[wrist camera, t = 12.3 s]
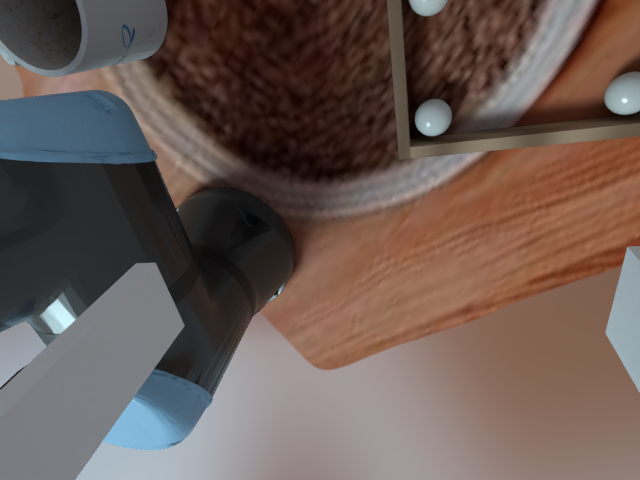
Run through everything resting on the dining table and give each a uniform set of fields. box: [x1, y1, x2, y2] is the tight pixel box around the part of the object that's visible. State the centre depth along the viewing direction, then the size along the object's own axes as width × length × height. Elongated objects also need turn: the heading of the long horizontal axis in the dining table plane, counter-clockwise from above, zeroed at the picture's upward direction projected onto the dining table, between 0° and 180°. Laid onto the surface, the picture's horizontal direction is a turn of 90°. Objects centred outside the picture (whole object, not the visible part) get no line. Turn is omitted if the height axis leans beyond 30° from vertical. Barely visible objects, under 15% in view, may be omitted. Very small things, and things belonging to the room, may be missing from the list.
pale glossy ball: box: [415, 99, 452, 136], centre depth 32 cm, size 3×3×3 cm
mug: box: [0, 0, 168, 77], centre depth 31 cm, size 12×9×10 cm
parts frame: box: [387, 0, 640, 160], centre depth 28 cm, size 20×15×2 cm
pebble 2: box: [604, 72, 640, 115], centre depth 28 cm, size 3×3×3 cm
